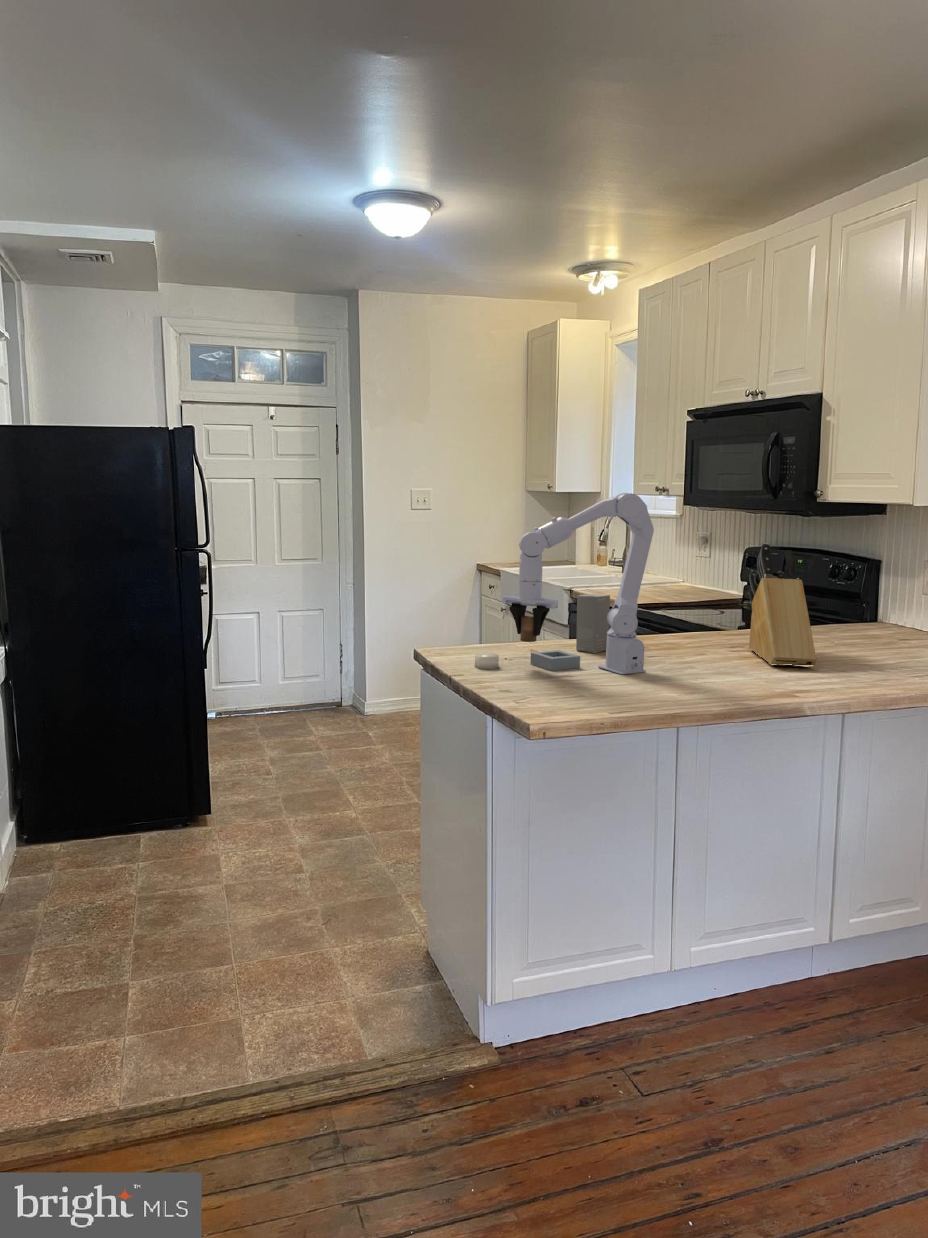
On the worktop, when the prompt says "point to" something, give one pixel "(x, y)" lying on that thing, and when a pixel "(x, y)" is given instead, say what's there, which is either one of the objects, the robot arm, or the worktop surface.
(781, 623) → the knife block
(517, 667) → the worktop surface
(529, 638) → the walnut dowel
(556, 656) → the socket board
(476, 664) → the ivory rounded cylinder
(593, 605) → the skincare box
